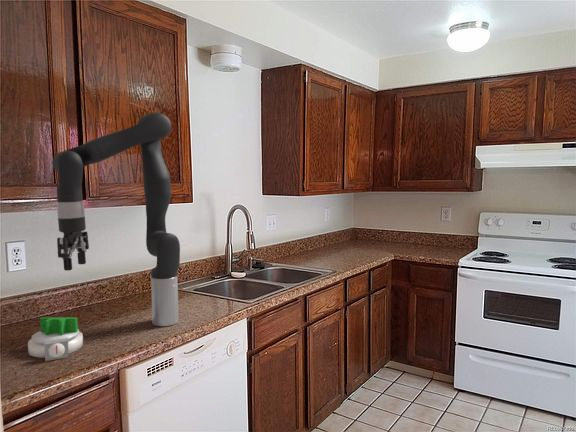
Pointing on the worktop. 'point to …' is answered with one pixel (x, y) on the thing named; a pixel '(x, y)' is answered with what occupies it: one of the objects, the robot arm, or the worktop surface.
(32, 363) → the worktop surface
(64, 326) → the pipe clamp
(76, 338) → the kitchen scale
